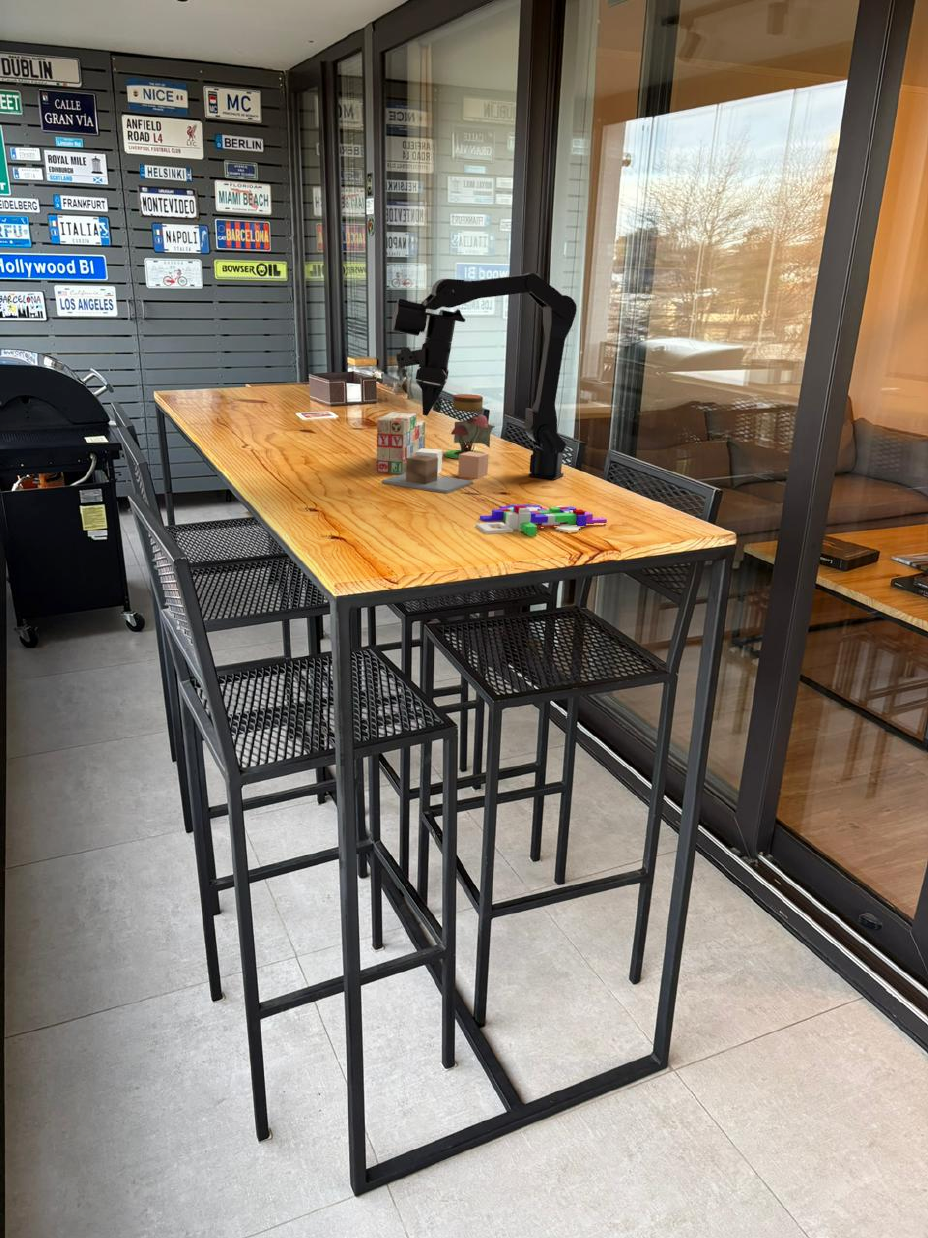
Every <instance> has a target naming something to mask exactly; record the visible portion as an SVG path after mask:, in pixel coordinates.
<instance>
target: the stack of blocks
mask: <svg viewBox="0 0 928 1238" xmlns="http://www.w3.org/2000/svg"><path fill="white" fill-rule="evenodd" d="M425 431H426V421H425V420H417V413H413V412H411V413H410V412H395V411H391V412H389V413H387V414H385V415H383V416H382V417H380V418H378V419H376V473H378V474H379V473H380V474H389V475H391V474H392V475H401V474H404V473H406V458H409V457H412V456H416V451H418V450H419V449H421V448H425V449H426V434H425Z"/></svg>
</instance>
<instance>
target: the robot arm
mask: <svg viewBox="0 0 928 1238" xmlns="http://www.w3.org/2000/svg"><path fill="white" fill-rule="evenodd" d="M525 293H526V294H527V295H529V296H530V298H531V299H532V300H533V301H534V302H535V303H536V304H537V305H538V306H539V307H540V308H541V309H542V324H543V325H542V326H543V330H544V332H543V333H544V343H543V351H542V358H541V363H540V368H539V369H540V371H539V375H538V376H539V377H538V384H537V391H536V397H535V401H534V404H533V405H532V408H528V407H526V408H525V413H524V414H525V417H524V418H525V419H524V422H523V424H522V426H523V427H524V431H525V434H526V436H527V437H528V438H529V439H531V442H532V445H533V447H534V448H532V453H531V454H530V459H529V473H528V475H527V476H528V477H534V478H540V479H545V480H557V479H558V478H562V477H563V476H564V475H565V473H564V472H562V465H563V456H564V455H563V454H564V451H565V448H567V447H566V446H567V443H566V442H565V441H564V440H563V439H562V438H561V436H560V435H558V417H557V410H556V399H557V392H558V386H559V379H560V373H561V367H562V363H563V361H562V360H563V355H564V348H565V342H566V339H567V337H568V335H569V333H570V332H571V329H572V327H573V324H574V321H575V318H576V315H577V306H578V305H577V304H576V301H575V300H574V299H573V298H572V297H571V296H568V295H566V294H565V295H564V294H562V293H560V292H559V290H557V289H556V288H555V287H553V286H552V285H550V284H549V283H548V282H546V281H545V280H544V279H543V278H542V277H541V276H540V275H539V274H538V273H536V272H527V273H524V274H519V275H518V274H517V275H511V276H510V275H509V276H504V277H494V278H486V279H477V280H473V279H472V280H470V279H455V278H441V279H438V280H436V281H435V283H434V284H433V286H432V288H431V293H430V294H428V296H427V297H425V298H424V299H423V301H421V303H418V302H414V301H410V300H407V299H403V298H397V300H396V305H395V308H394V313H393V314H392V320H391V332H395V333H399V334H400V333H401V334H404V335H411V336H416V337H417V336H419V335H420V333H424V332H425V331H426V333H425V338H424V339H425V340H424V342H423V343H422V346H421V348H420V349H414V350H411V348H410V347H409V346H408V347H402V348H401V350H400V352H396V353H395V357H396V358H395V359H396V363H397V369H405V368H407V367H412V366H417V365H418V369H417V370H416V374H415V380H416V381H415V382H416V384H417V385H418V386H419V388H420V389H421V398H422V399H421V400H422V405H421V407H422V415H423V416H429V415H430V412H431V410H432V409H433V407H434V405H435V403H436V402H437V401H438V398H439V396H440V395H441V393H442V391H443V389H444V387H445V385H446V384H447V380H448V377H449V372H450V371H449V369H448V367H449V361H450V355H451V351H452V342H453V337H454V331H455V325H456V322H460V323H465V322H466V318H465V317H464V316H463V315H462V313H461V312H462V311H461V310H460V309H458V308H457V309H455V311H450V310H444V309H441V308H448V309H449V308H450V309H452V308H455V307H459V306H462V305H464V304H467V303H470V302H472V301H475V300H478V299H479V300H480V299H485V298H492V297H494V298H495V297H501V296H509V295H516V294H517V295H518V294H525ZM438 309H440V311H439V312H438V314H437V313H433V312H432V313H431V312H427V310H432V311H436V310H438ZM427 321H428V322H427ZM426 327H427V328H426Z"/></svg>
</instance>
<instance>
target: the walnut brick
mask: <svg viewBox="0 0 928 1238" xmlns="http://www.w3.org/2000/svg"><path fill="white" fill-rule="evenodd" d="M437 471H438V458H437V457H430V456H423V455H416V456H412V457H409V458H406V472H405V473H406V481H408V482H414V483H421V484H428V483H431V482H434V481H437V476H438V474H437Z"/></svg>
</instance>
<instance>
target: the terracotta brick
mask: <svg viewBox="0 0 928 1238" xmlns="http://www.w3.org/2000/svg"><path fill="white" fill-rule="evenodd" d="M489 455H490V454H489V453H486V454H485V452H484V453H477V452H470V451H469V452H465V453H462V454H459V459H458V472H457V473H458V474H457V477H463V478H469V479H476V480H477V479H478V480H479V479H482V478H484V477H486V476H487V477H488V471H489V470H488V468H489Z"/></svg>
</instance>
